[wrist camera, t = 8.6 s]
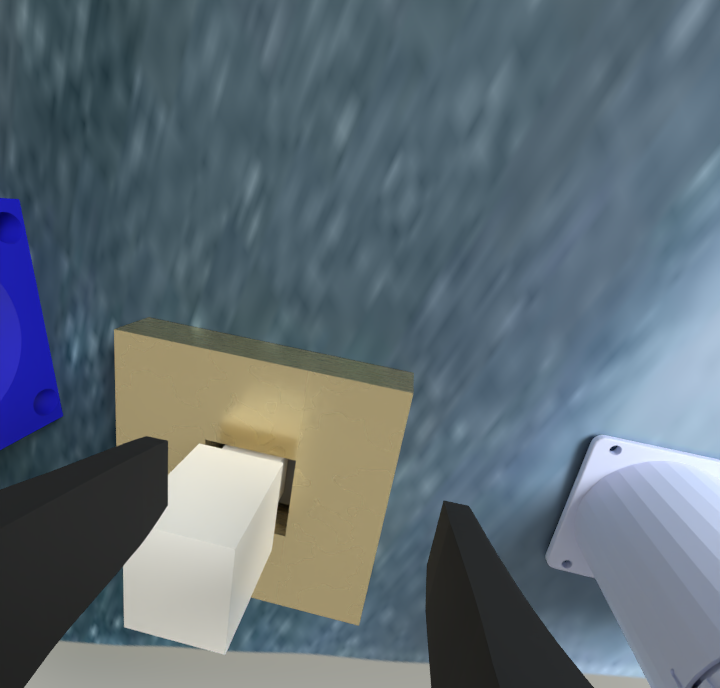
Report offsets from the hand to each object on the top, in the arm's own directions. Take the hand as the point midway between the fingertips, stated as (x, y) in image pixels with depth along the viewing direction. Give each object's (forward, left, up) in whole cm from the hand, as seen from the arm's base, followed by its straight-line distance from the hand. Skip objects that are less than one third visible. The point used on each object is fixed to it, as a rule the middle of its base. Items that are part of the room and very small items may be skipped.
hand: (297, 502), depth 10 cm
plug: (+4, +6, -10) cm, 12 cm away
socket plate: (+4, +7, -10) cm, 13 cm away
